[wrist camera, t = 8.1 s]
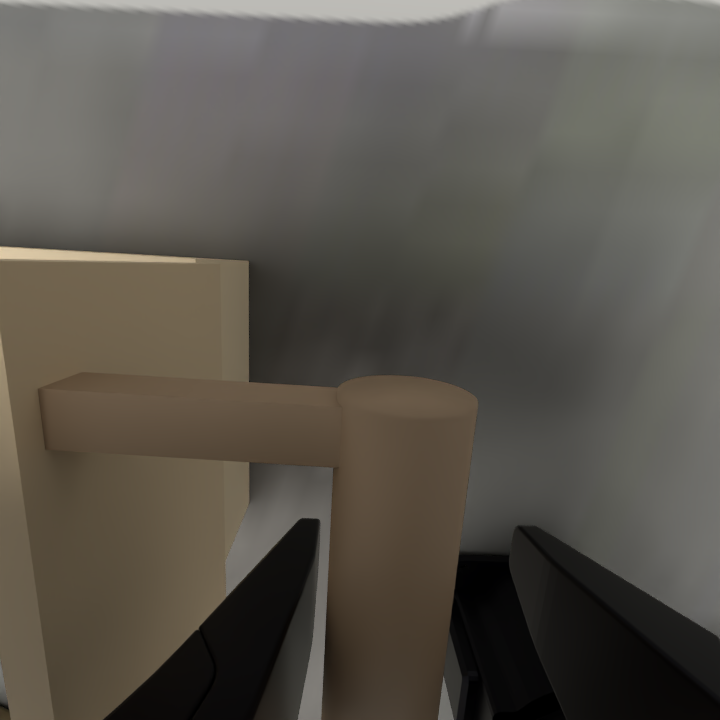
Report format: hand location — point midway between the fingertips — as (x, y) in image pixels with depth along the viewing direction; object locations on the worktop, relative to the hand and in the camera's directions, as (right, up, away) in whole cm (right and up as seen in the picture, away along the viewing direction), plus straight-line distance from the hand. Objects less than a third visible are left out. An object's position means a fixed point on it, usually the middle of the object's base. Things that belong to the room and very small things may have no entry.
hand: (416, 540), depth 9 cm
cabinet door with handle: (-6, 0, 0) cm, 6 cm away
